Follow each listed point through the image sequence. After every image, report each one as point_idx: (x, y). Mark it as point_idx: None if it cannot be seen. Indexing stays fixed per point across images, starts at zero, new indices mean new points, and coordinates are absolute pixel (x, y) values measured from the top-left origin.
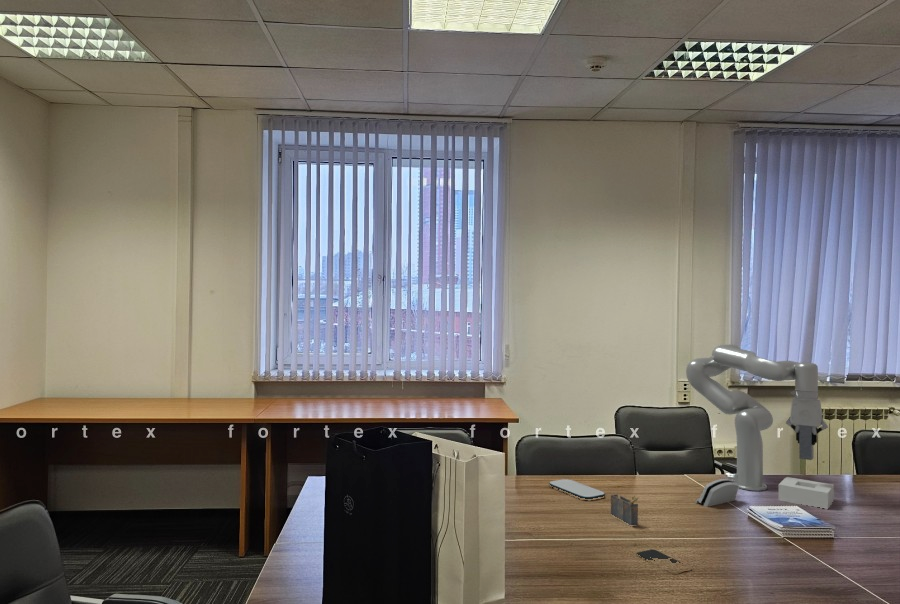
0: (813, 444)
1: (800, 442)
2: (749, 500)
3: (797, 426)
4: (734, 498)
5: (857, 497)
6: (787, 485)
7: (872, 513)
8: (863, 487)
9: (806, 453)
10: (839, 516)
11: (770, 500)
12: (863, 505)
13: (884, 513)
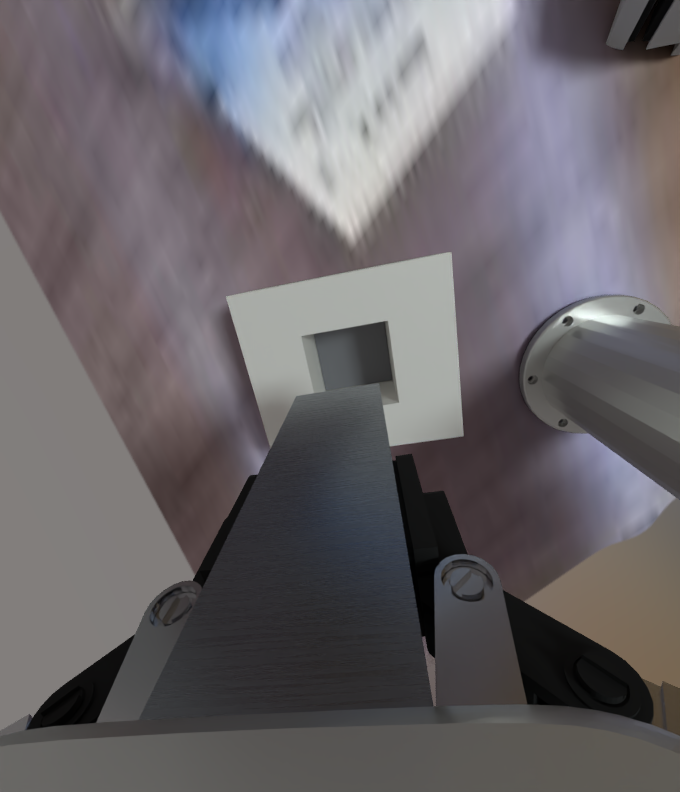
0: (251, 477)
1: (377, 449)
2: (539, 123)
3: (483, 687)
4: (615, 20)
5: None
6: (409, 271)
7: (145, 376)
8: None
9: (325, 409)
10: (184, 231)
11: (459, 221)
12: (206, 447)
13: (127, 407)
